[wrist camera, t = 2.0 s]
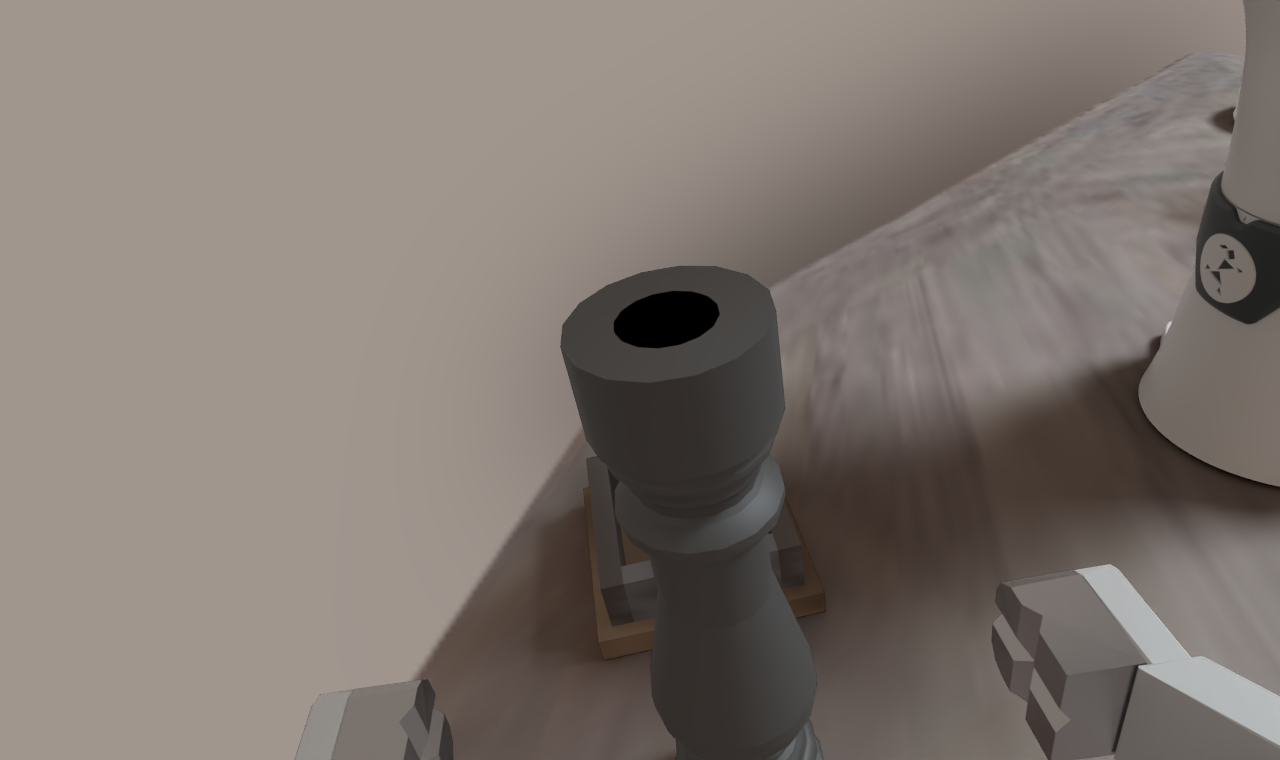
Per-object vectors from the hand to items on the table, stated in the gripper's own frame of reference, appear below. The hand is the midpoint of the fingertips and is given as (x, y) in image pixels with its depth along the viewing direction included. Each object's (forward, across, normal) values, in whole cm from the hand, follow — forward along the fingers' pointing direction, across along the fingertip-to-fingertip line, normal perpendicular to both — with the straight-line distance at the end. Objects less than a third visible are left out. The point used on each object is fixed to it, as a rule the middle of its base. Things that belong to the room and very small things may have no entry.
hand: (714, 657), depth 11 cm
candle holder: (+12, -1, +25) cm, 28 cm away
